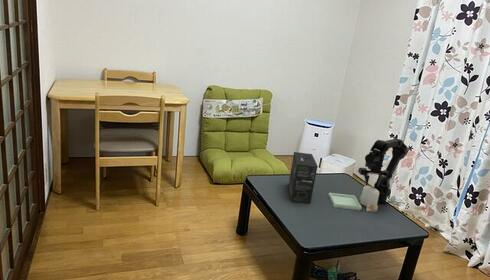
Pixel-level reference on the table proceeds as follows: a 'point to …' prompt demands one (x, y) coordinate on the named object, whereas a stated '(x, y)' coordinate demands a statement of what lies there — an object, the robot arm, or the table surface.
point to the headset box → (302, 177)
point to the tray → (344, 201)
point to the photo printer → (369, 196)
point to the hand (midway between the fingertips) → (372, 186)
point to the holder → (370, 207)
